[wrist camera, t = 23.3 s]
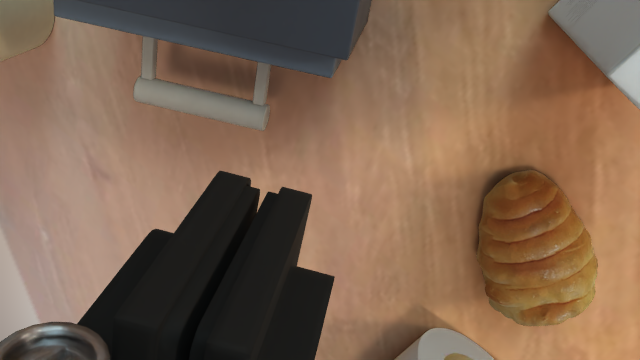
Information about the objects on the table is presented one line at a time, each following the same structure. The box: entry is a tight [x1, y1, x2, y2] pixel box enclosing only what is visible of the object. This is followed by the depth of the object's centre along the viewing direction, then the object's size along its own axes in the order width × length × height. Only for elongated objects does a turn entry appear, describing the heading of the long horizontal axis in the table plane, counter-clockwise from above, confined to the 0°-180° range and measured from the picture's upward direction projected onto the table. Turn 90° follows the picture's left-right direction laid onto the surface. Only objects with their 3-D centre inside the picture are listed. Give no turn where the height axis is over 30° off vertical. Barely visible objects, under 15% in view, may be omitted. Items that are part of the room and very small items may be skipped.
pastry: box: [476, 170, 598, 326], centre depth 35 cm, size 9×7×4 cm
